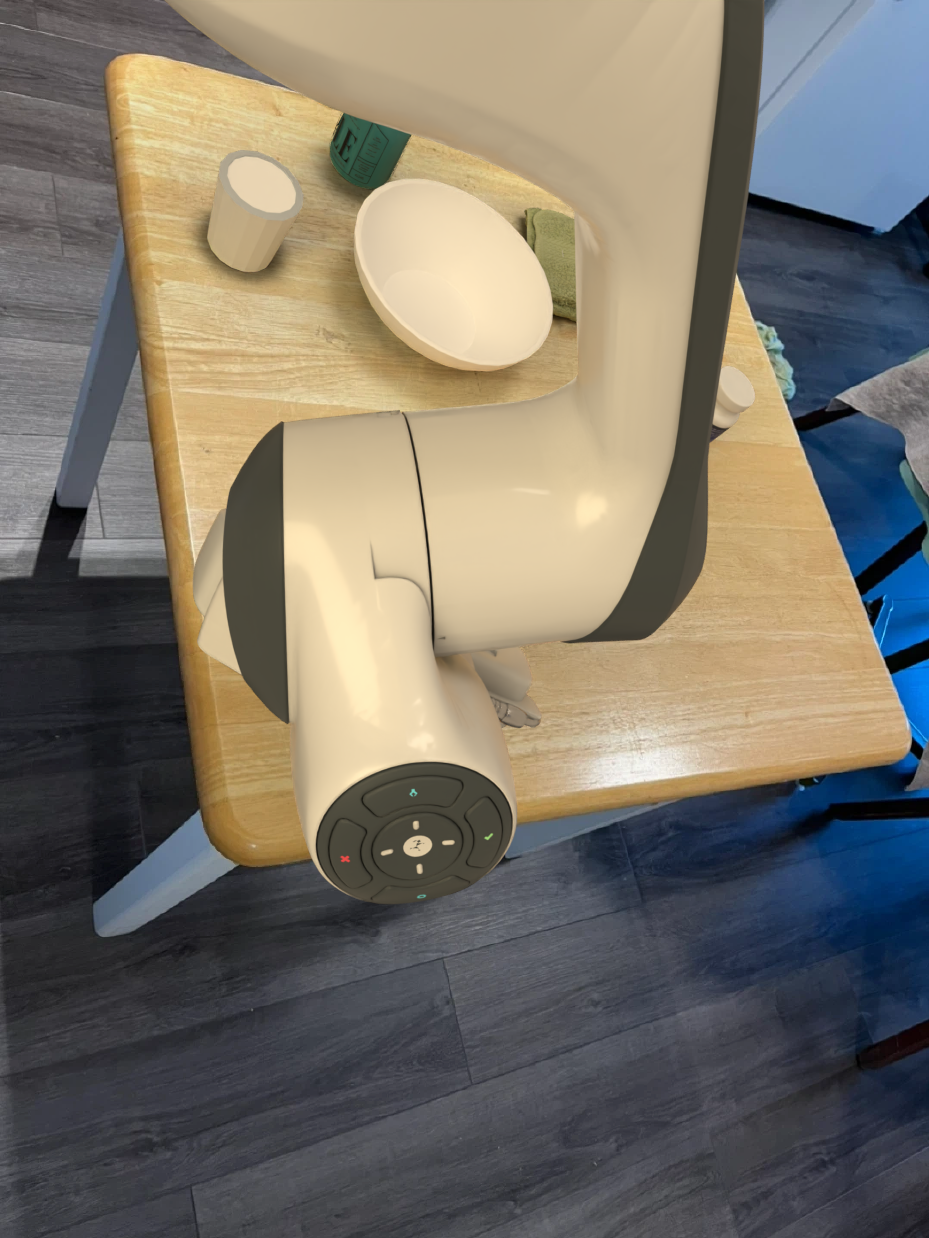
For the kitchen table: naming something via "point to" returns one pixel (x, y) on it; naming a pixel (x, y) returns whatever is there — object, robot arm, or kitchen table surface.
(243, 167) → the shot glass
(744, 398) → the pill bottle
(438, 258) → the bowl
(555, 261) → the washcloth
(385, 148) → the beverage bottle
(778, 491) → the kitchen table surface
